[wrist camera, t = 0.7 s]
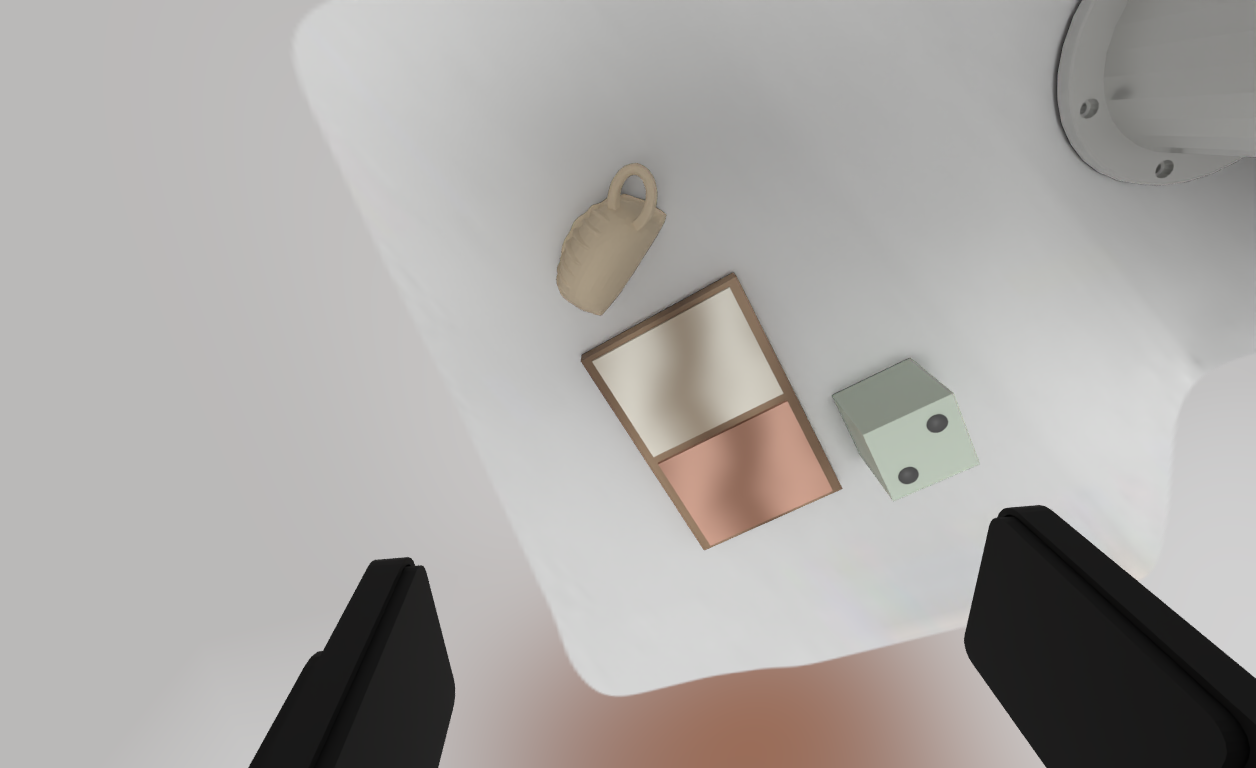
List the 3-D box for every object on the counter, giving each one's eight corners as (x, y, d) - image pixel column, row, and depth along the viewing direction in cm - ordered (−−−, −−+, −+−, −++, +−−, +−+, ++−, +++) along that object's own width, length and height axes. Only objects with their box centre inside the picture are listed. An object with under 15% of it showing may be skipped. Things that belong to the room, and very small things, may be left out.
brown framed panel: (733, 272, 33) (737, 277, 31) (837, 480, 38) (843, 490, 37) (581, 355, 34) (580, 362, 33) (702, 540, 40) (704, 552, 39)
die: (910, 358, 35) (954, 393, 30) (935, 421, 37) (980, 464, 32) (832, 395, 36) (863, 435, 31) (860, 455, 38) (894, 502, 33)
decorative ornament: (539, 278, 33) (525, 305, 28) (623, 146, 30) (624, 151, 25) (599, 317, 34) (595, 350, 29) (686, 193, 31) (698, 207, 26)
